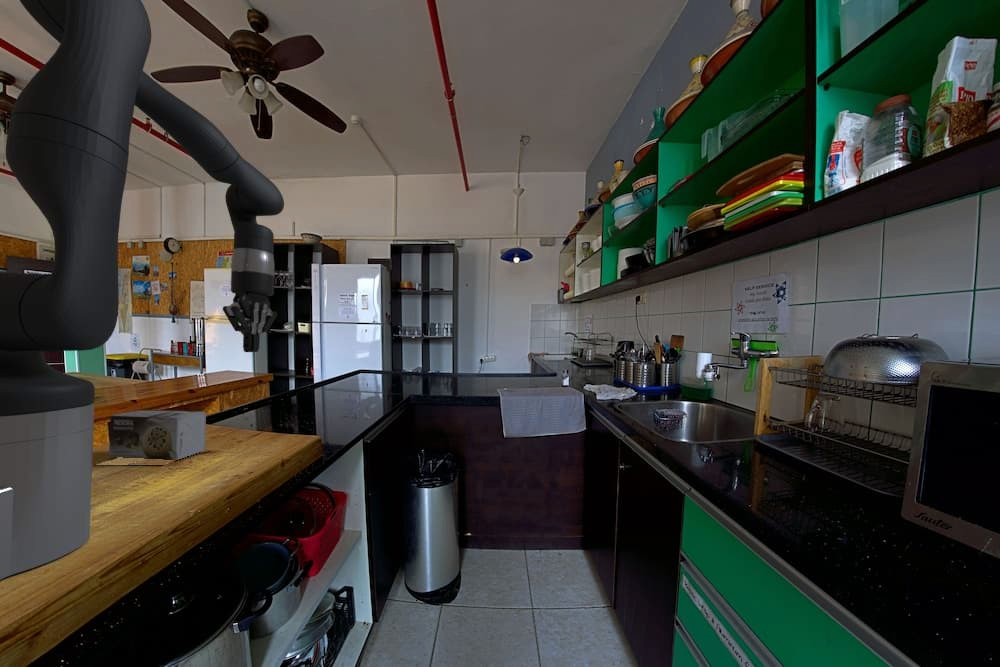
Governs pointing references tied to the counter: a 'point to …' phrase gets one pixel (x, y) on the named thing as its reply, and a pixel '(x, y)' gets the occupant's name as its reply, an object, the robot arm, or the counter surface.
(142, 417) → the coffee box
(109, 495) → the counter surface
